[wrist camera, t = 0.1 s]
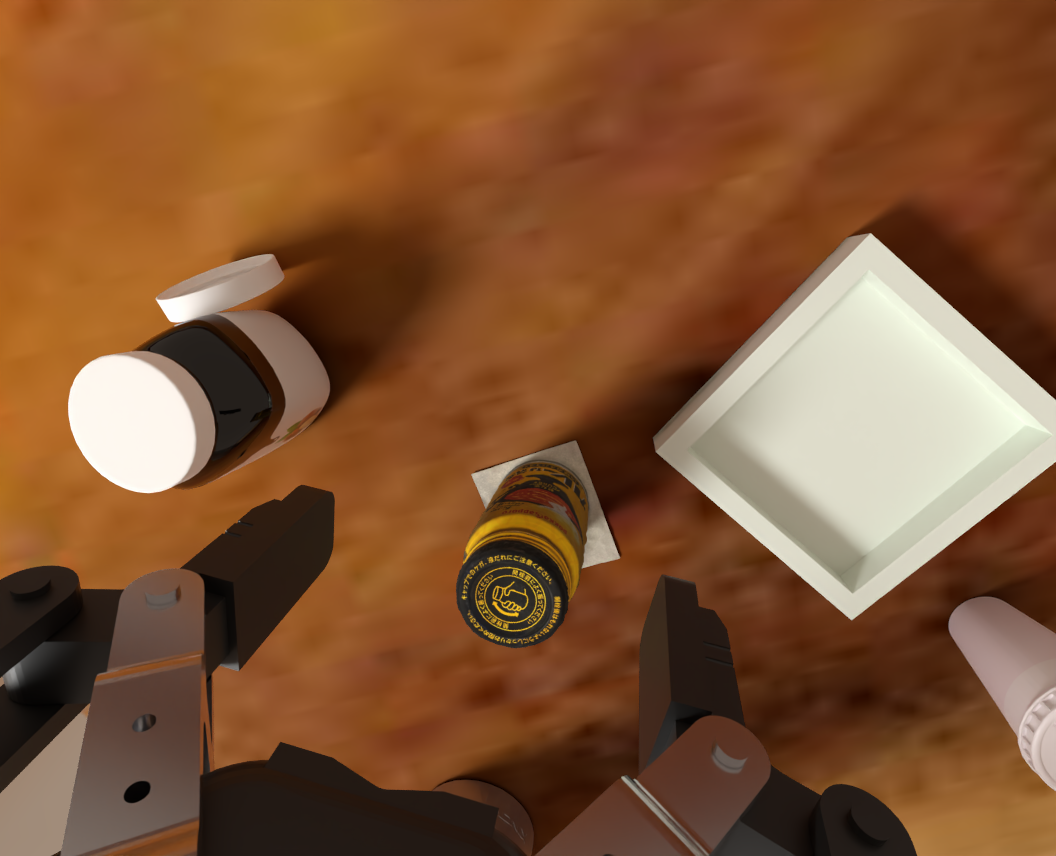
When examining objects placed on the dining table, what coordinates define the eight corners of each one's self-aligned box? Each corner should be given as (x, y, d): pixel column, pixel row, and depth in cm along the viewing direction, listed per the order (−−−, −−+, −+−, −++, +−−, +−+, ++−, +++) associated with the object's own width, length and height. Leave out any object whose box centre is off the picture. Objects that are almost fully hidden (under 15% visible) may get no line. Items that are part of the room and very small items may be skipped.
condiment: (576, 438, 36) (554, 515, 24) (620, 557, 37) (619, 681, 26) (471, 472, 37) (405, 559, 26) (518, 584, 39) (474, 711, 28)
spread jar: (263, 468, 40) (124, 542, 29) (154, 338, 39) (-35, 363, 28) (384, 366, 37) (280, 405, 25) (268, 221, 35) (106, 195, 24)
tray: (833, 592, 36) (851, 620, 33) (652, 437, 35) (655, 451, 32) (1048, 418, 31) (1092, 433, 28) (847, 237, 30) (870, 233, 28)
